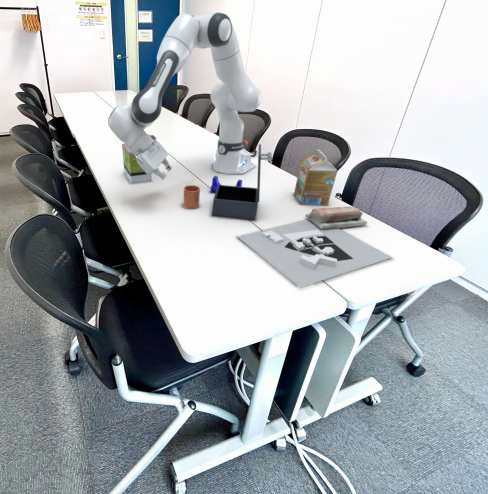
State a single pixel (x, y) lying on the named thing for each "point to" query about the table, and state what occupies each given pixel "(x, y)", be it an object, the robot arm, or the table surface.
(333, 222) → the packaged product
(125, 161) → the tea box
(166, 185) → the table surface
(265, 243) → the architectural model
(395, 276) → the table surface
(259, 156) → the lid
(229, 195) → the dark grey open box
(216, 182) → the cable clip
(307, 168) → the milk carton
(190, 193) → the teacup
